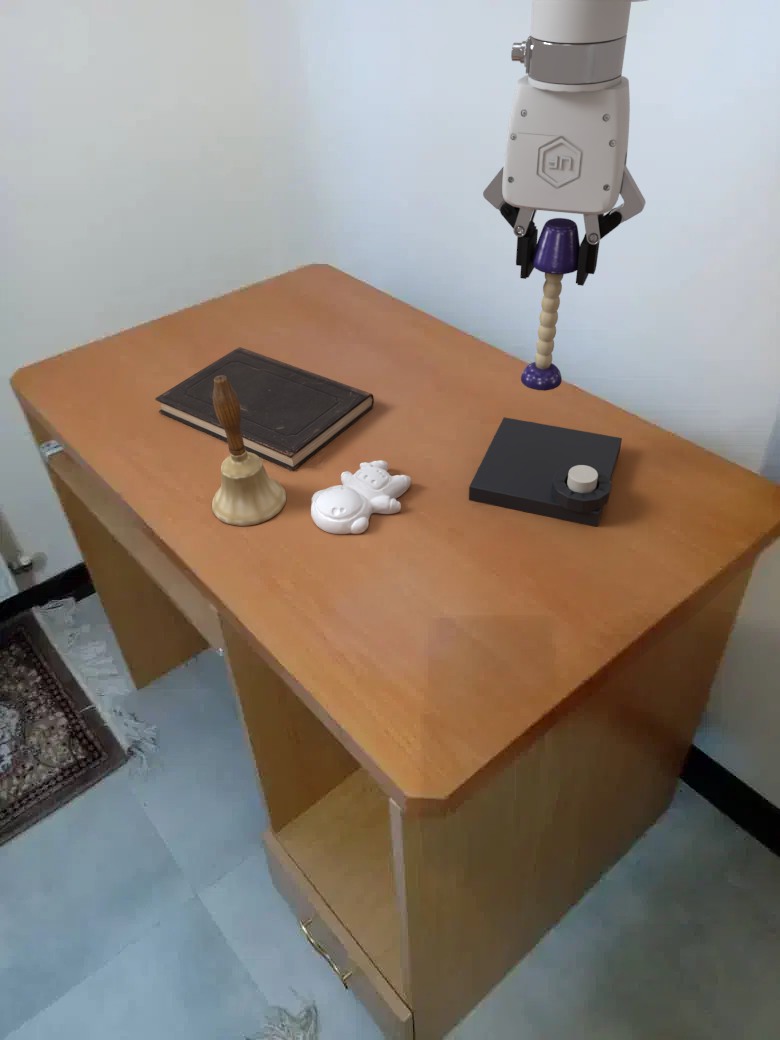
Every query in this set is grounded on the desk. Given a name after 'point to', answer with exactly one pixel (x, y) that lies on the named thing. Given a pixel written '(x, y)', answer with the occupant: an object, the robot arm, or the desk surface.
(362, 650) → the desk surface
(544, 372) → the toy lamp
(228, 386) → the hand bell
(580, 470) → the button
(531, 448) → the scale
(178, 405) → the hardcover book
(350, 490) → the white flat figure
